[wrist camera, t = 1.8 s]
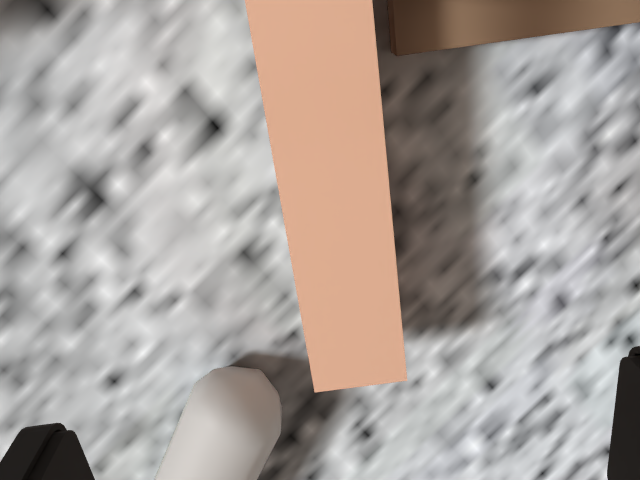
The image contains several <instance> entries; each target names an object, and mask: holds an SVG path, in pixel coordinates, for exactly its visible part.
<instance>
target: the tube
mask: <svg viewBox="0 0 640 480" xmlns="http://www.w3.org/2000/svg"><path fill="white" fill-rule="evenodd" d="M281 419H282V404H281V401H280V397H279V394H278V392H277V390H276V389H275V388H274V387H273V385H272V384H271V383H270V381H269V380H268V379H267V377H266V376H265V375H264V373H263V372H262V371H261V370H260V369H252V368H243V367H235V366H229V367H223V368H218V369H213V370H212V371H211V372H209V373H208V374H207V375H205V376H204V377H203V378H201V379H200V380H199V381H197V382H196V383H195V384H194V386H193V388H192V391H191V393H190V396H189V398H188V400H187V403H186V405H185V407H184V410H183V412H182V415H181V417H180V419H179V422H178V424H177V426H176V429H175V431H174V434H173V436H172V438H171V441H170V443H169V446H168V448H167V450H166V453H165V455H164V457H163V460H162V462H161V465H160V467H159V469H158V472H157V474H156V476H155V479H154V480H257V479H258V477H259V475H260V473H261V471H262V469H263V467H264V465H265V463H266V461H267V459H268V457H269V455H270V453H271V451H272V450H273V448H274V446H275V444H276V442H277V440H278V438H279V436H280V434H281Z"/></svg>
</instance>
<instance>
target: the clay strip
mask: <svg viewBox="0 0 640 480" xmlns="http://www.w3.org/2000/svg"><path fill="white" fill-rule="evenodd" d="M245 3H246V9H247V15H248V20H249V26H250V32H251V37H252V43H253V48H254V54H255V60H256V65H257V71H258V77H259V82H260V88H261V93H262V99H263V105H264V110H265V116H266V122H267V127H268V133H269V138H270V144H271V150H272V155H273V161H274V167H275V172H276V178H277V183H278V189H279V195H280V200H281V206H282V212H283V217H284V223H285V228H286V234H287V240H288V245H289V251H290V257H291V262H292V268H293V273H294V279H295V285H296V290H297V296H298V302H299V307H300V313H301V318H302V324H303V330H304V335H305V341H306V347H307V352H308V358H309V363H310V369H311V375H312V380H313V386H314V392H322V391H330V390H338V389H346V388H353V387H361V386H369V385H377V384H384V383H392V382H400V381H407V374H406V363H405V352H404V341H403V330H402V319H401V308H400V297H399V287H398V276H397V265H396V254H395V243H394V232H393V221H392V210H391V199H390V189H389V178H388V167H387V156H386V145H385V134H384V123H383V112H382V101H381V91H380V80H379V69H378V58H377V47H376V36H375V25H374V14H373V3H372V0H245Z"/></svg>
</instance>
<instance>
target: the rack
mask: <svg viewBox="0 0 640 480" xmlns="http://www.w3.org/2000/svg"><path fill="white" fill-rule="evenodd" d="M387 3H388V16H389V30H390V43H391V53H393V54H395V55H396V56H400V55H408V54H415V53H422V52H429V51H436V50H443V49H451V48H458V47H465V46H472V45H479V44H486V43H494V42H501V41H508V40H515V39H522V38H529V37H537V36H544V35H551V34H558V33H565V32H572V31H579V30H587V29H594V28H601V27H608V26H615V25H622V24H630V23H637V22H640V0H387Z"/></svg>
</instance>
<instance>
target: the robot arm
mask: <svg viewBox="0 0 640 480" xmlns="http://www.w3.org/2000/svg"><path fill="white" fill-rule="evenodd" d="M607 477H608V480H640V346H637V347H634V348H632V349H631V350H630V352H629V355H628V357H624V358H622V360H621V362H620V367H619V376H618V384H617V393H616V401H615V410H614V418H613V427H612V435H611V444H610V452H609V461H608V470H607ZM0 480H95V479H94V476H93V474H92V472H91V469H90V467H89V464H88V462H87V459H86V457H85V455H84V452H83V450H82V447H81V445H80V443H79V440H78V438H77V435H76V434H75V432H74V431H72V430H66V428H65V426H64V425H62V424H61V423H53V424H46V425H38V426H31V427H25V428H24V429H22V430H21V431H20V432H19V433H18V435H17V436H16V438H15V440H14V441H13V443H12V444H11V446H10V448H9V449H8V451H7V452H6V454H5V456H4V457H3V459H2V460H1V462H0Z"/></svg>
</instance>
